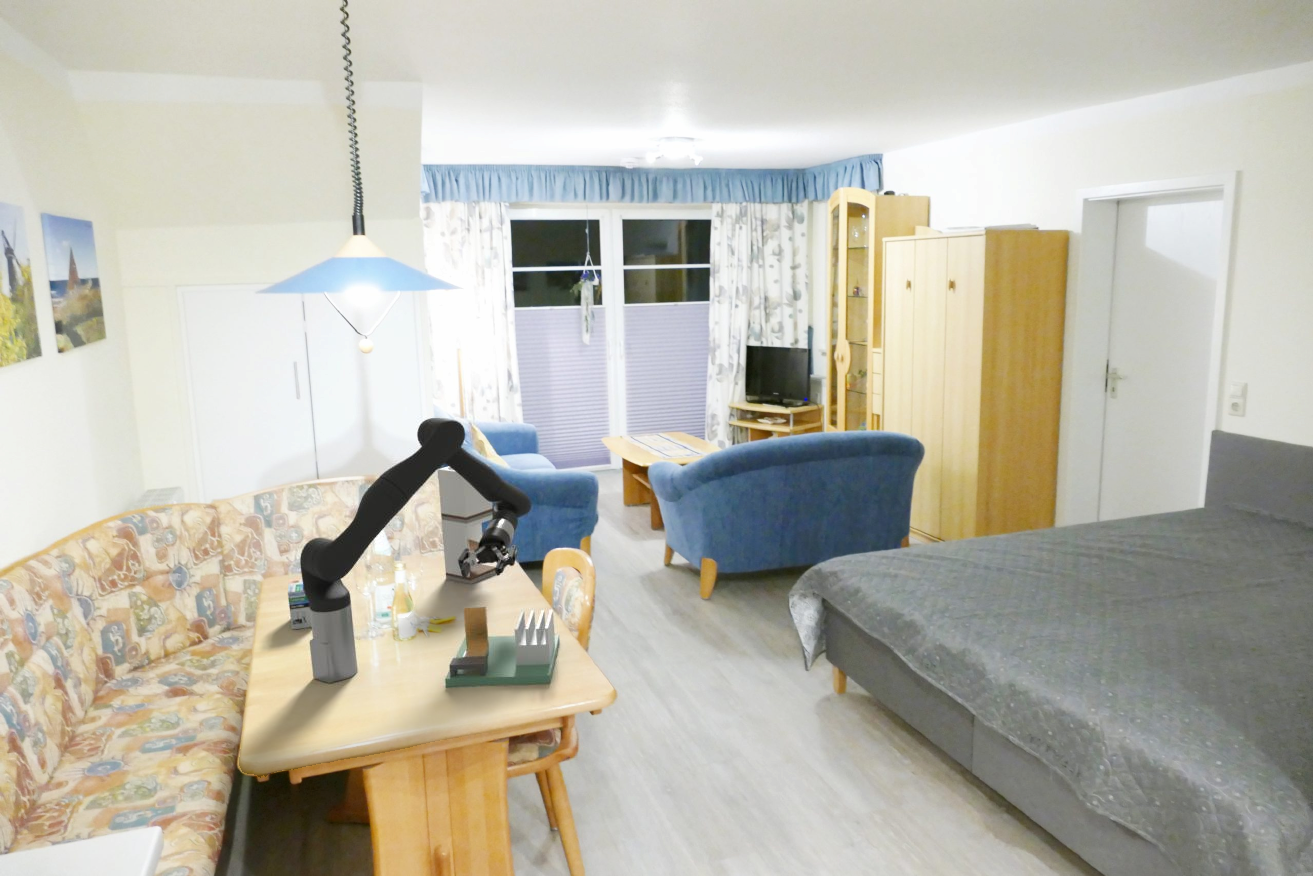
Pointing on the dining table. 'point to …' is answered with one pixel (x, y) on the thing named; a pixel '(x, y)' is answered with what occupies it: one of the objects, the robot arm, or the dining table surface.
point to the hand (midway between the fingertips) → (480, 573)
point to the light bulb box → (298, 605)
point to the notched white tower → (462, 523)
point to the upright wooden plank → (476, 632)
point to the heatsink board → (510, 657)
